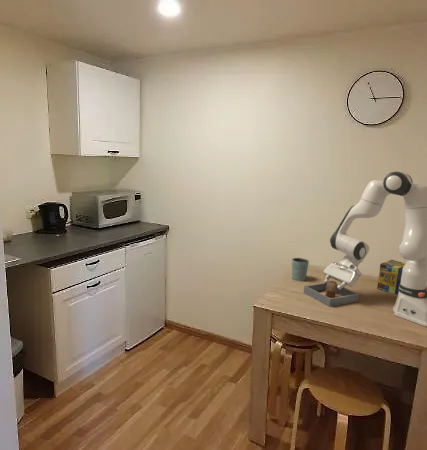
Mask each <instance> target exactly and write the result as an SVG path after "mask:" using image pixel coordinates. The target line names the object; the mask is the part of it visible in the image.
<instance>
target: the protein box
mask: <svg viewBox="0 0 427 450" xmlns="http://www.w3.org/2000/svg"><path fill="white" fill-rule="evenodd" d="M405 264H406V262H403V261H398V260H394V259H389V260H387V261H384V262H382V263H380V264H379V271H378V279H377V285H376V289H377V290H380V291H383V292H387V293H389V294H394V295H396V294H398V293H399V292H398V289H399V283H401V276H402V270H403V267H404V266H405Z"/></svg>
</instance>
